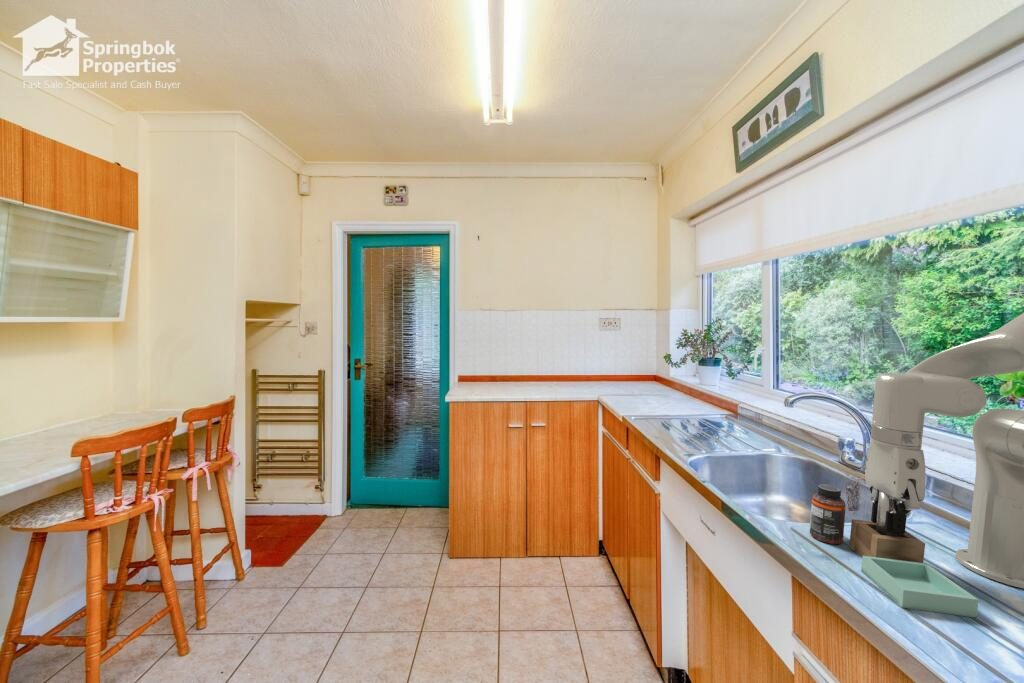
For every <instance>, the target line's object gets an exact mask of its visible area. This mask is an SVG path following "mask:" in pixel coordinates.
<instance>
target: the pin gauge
mask: <svg viewBox="0 0 1024 683" xmlns="http://www.w3.org/2000/svg"><path fill="white" fill-rule="evenodd" d="M899 503H901V501H896V505H897V504H899ZM886 511H889V496H888V495H887V494H885V493H883V492H882V491H880V490H879V500H878V511H877V522H876V532H878V533H879V534H881V535H885V536H894V537H897V534H895V533H888V532H886V531H885V519H886Z"/></svg>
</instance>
